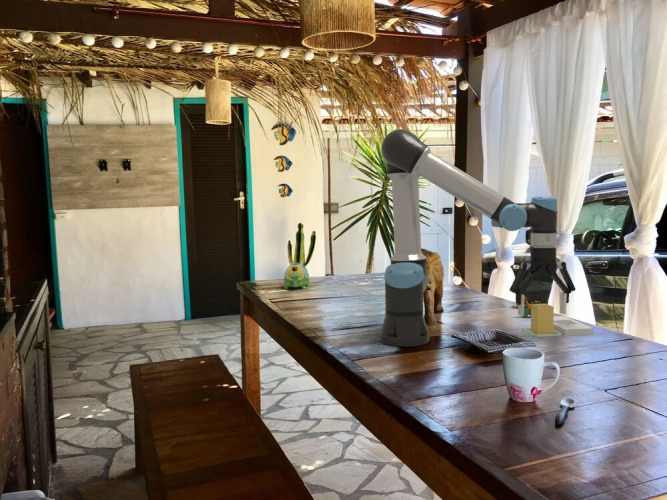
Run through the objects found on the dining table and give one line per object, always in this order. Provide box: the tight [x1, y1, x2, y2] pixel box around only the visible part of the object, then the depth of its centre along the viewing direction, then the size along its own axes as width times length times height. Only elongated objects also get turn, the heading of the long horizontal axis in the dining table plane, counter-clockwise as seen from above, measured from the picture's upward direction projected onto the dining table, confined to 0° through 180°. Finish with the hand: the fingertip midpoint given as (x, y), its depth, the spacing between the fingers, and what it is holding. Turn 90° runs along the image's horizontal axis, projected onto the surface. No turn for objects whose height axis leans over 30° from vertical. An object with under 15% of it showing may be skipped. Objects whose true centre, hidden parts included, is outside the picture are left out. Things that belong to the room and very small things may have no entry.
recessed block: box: [553, 315, 594, 337], centre depth 186 cm, size 9×18×3 cm, turn 5°
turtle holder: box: [283, 262, 310, 290], centre depth 278 cm, size 12×18×12 cm
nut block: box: [530, 303, 555, 335], centre depth 181 cm, size 5×5×9 cm
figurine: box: [509, 296, 542, 319], centre depth 203 cm, size 3×12×8 cm, turn 95°
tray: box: [521, 327, 564, 338], centre depth 182 cm, size 9×9×2 cm
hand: (541, 314), depth 181 cm, fingers open, 13 cm apart
